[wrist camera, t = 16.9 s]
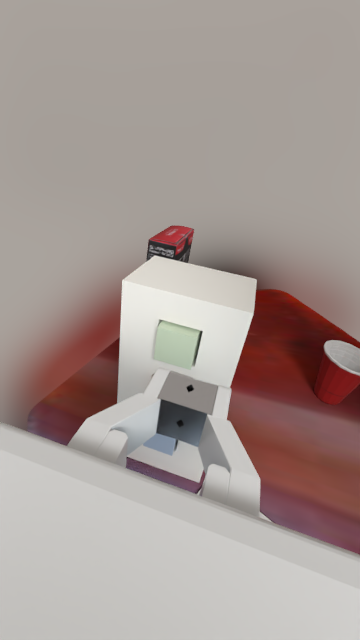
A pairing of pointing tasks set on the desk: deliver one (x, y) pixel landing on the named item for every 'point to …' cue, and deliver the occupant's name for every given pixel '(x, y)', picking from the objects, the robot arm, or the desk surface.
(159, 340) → the sage button
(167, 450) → the slate button
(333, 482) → the desk surface
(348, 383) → the plastic cup
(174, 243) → the graphics card box
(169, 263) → the button panel
